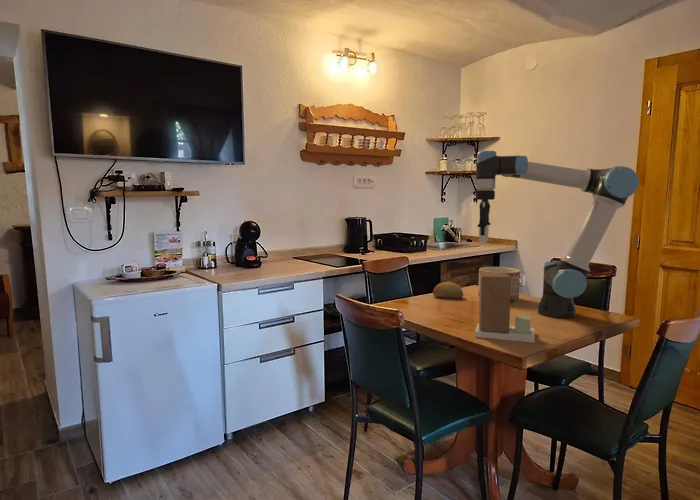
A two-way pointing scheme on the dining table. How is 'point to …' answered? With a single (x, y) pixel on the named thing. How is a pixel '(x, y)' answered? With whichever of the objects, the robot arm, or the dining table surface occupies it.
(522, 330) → the sage cube
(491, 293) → the wooden block
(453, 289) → the bread roll
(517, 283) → the planter
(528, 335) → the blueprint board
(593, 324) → the dining table surface
